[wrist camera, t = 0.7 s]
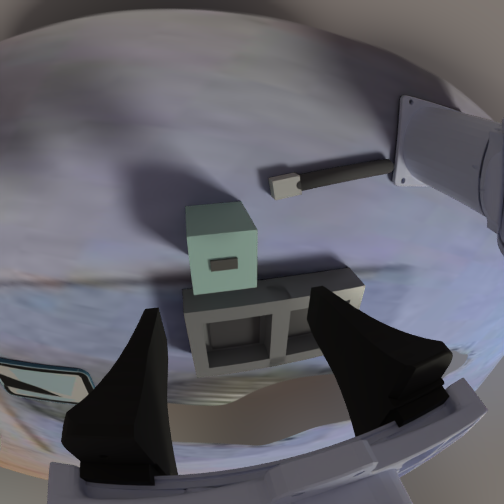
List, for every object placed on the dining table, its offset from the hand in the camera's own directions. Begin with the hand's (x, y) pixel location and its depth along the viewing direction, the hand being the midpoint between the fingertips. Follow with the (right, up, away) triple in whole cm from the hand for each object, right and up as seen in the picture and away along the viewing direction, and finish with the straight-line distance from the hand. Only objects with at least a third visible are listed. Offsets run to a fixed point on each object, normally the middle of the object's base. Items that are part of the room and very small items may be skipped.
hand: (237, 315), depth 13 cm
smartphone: (-25, -12, +13) cm, 30 cm away
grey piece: (+2, -3, +13) cm, 14 cm away
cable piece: (+8, +9, +8) cm, 14 cm away
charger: (-2, +5, +8) cm, 10 cm away
